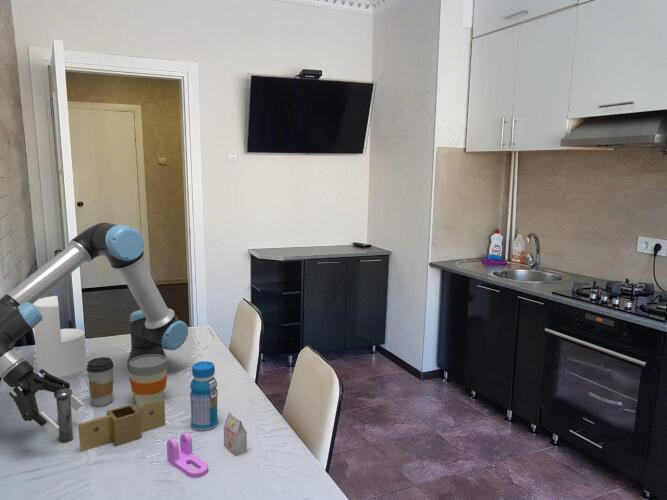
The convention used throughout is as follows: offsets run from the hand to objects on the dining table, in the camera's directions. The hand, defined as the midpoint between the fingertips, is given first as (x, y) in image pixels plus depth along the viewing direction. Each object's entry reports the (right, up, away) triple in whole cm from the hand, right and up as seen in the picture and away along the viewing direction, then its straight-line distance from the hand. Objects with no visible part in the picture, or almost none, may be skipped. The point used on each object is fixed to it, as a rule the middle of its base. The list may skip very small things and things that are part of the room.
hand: (68, 418), depth 146 cm
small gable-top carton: (+49, -8, -1) cm, 50 cm away
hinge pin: (-1, -7, +1) cm, 7 cm away
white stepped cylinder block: (-30, +2, +52) cm, 60 cm away
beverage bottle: (+37, -6, +11) cm, 39 cm away
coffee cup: (-1, -3, +25) cm, 25 cm away
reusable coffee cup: (+14, -3, +26) cm, 30 cm away
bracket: (+39, -10, -10) cm, 41 cm away
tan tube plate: (+15, -7, +3) cm, 17 cm away
